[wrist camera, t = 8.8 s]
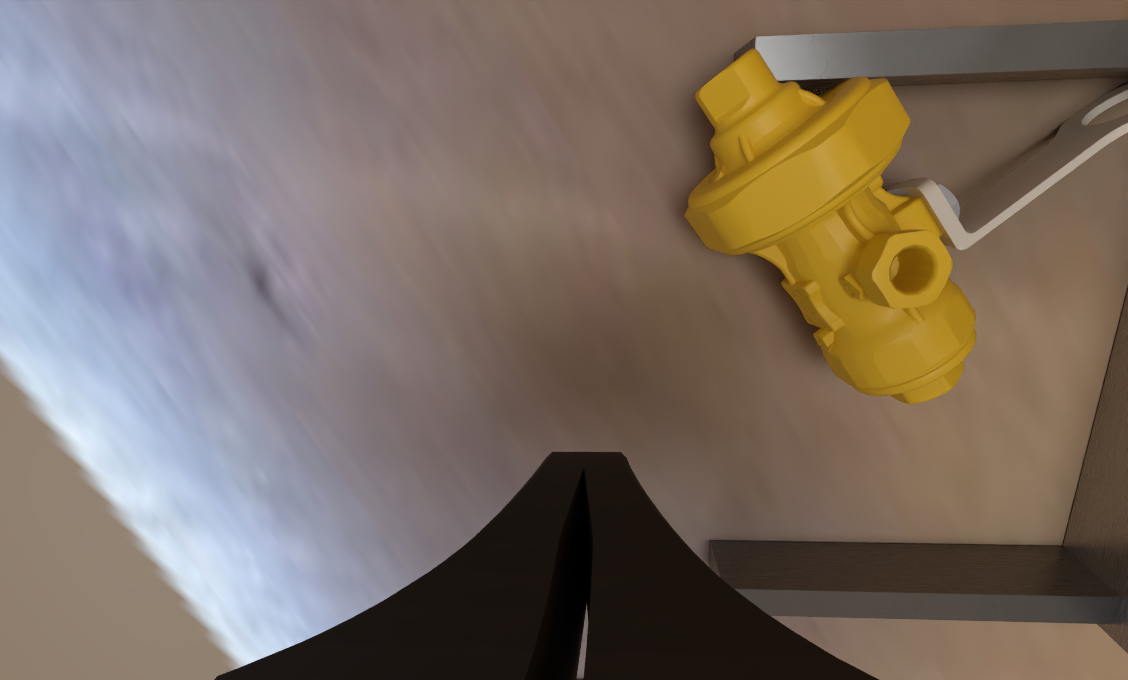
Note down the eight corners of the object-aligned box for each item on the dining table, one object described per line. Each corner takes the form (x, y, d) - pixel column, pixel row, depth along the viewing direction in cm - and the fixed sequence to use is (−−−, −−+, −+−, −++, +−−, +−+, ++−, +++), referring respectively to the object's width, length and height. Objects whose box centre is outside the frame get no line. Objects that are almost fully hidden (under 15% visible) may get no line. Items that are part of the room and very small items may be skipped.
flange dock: (1212, 585, 21) (1501, 790, 14) (708, 575, 22) (753, 759, 15) (1414, 3, 15) (2036, -114, 9) (735, 34, 17) (822, -48, 10)
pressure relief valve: (805, 407, 19) (622, 150, 17) (1119, 175, 19) (963, -121, 17) (914, 477, 14) (665, 116, 12) (1363, 154, 13) (1173, -287, 11)
